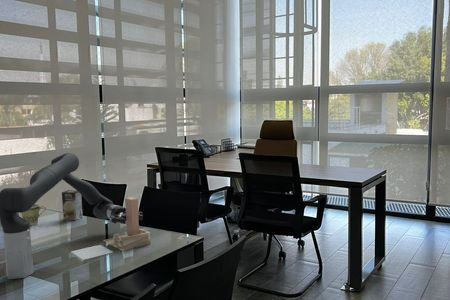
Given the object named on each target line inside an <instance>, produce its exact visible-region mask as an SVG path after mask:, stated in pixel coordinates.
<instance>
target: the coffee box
mask: <svg viewBox="0 0 450 300" xmlns="http://www.w3.org/2000/svg"><path fill="white" fill-rule="evenodd" d="M61 201H62V202H61V203H62V218H63V220H64V221H65V220H66V221H78V220H80V219H79V218H81V217H83V203H82V202H83V201H82V195H81V194H80V193H79V192H78V191H77V190H76V189H74V190H73V189H71V190H70V189H67V190H65V191H62V192H61ZM77 219H78V220H77ZM81 219H82V218H81Z"/></svg>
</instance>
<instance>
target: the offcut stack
mask: <svg viewBox="0 0 450 300" xmlns="http://www.w3.org/2000/svg"><path fill="white" fill-rule="evenodd" d="M124 237H128V235H127V233H124V232H117V233H113V237H112V238H113V244H115V245H117V246H119V247H121V248H122V238H124Z"/></svg>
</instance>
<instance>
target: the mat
mask: <svg viewBox="0 0 450 300" xmlns="http://www.w3.org/2000/svg"><path fill="white" fill-rule="evenodd" d="M112 253H113V250H110V249H109V248H107V247H105V246H103V245H101V244H99V245H98V244H97V245H93V246H90V247H89V246H88V247H85V248H81V249H80V248H79V249H76V250H71V251H70V255H71V256H72V255H73V256H74V258H75V257H76V258H77V259H76V258H75V259H76V260H78V261H79V260H80V261H79V262H81V263H82V262H83V263H82V264H86V262H87V261H86V260H88V259H92V258H96V257H100V256H103V255H108V254H112ZM73 256H72V257H73Z"/></svg>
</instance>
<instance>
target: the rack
mask: <svg viewBox="0 0 450 300" xmlns="http://www.w3.org/2000/svg"><path fill="white" fill-rule="evenodd" d="M102 241H103V242H105V243H107V244H108V245H110V246H112V247H114V248H115V249H118V250H120V251H126V250H130V249H133V248H137V247H142V246H146V245H150V244H151V232H150V231H148V230H145V229H143V228H140V227H139V234H137V235H132V236H128V237H124V238H122V248H121V247H119V246H117V245H115V244H113V237H111V238H107V239H102Z"/></svg>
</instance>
